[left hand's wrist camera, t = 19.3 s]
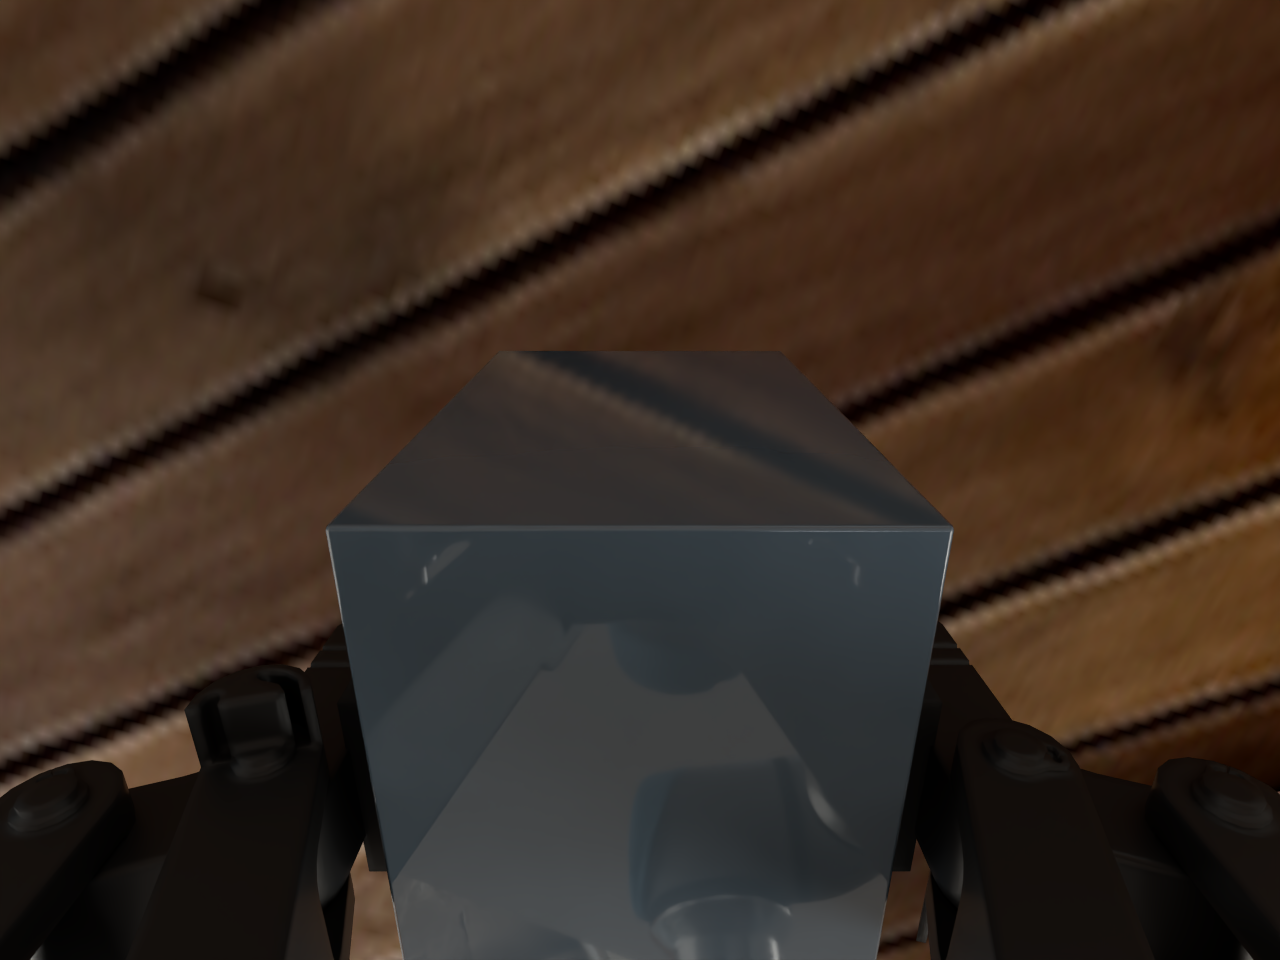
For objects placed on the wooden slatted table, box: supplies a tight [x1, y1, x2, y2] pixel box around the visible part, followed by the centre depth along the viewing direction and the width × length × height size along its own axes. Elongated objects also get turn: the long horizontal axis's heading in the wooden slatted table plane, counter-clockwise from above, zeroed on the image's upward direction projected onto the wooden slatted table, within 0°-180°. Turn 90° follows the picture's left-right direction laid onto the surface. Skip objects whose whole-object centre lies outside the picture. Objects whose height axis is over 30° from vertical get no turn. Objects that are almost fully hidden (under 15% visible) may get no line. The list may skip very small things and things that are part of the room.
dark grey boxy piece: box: [326, 351, 954, 960], centre depth 11 cm, size 8×6×8 cm
